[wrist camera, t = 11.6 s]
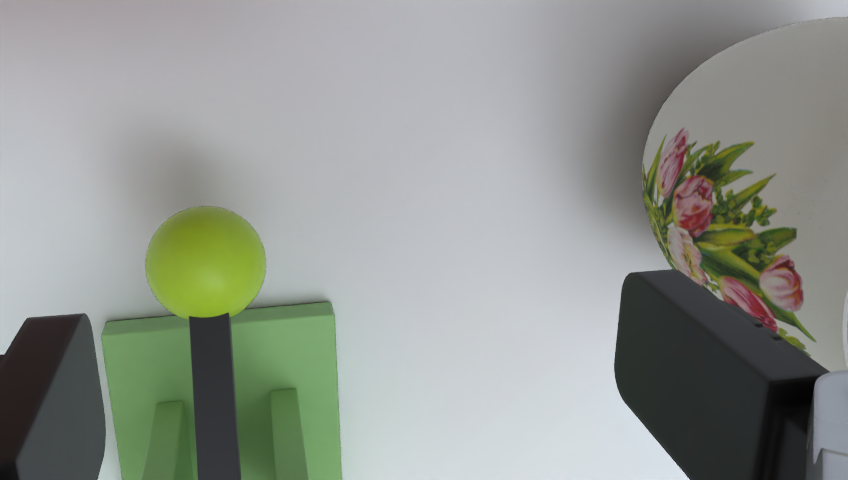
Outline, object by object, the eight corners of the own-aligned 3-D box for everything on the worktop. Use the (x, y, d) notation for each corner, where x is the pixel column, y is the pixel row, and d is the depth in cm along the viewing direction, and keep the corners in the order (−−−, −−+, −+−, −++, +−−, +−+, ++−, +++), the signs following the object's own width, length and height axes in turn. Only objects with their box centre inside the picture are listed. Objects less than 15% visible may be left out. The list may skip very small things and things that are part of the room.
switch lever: (152, 224, 25) (133, 196, 22) (262, 217, 25) (261, 188, 22) (174, 677, 22) (156, 723, 19) (295, 655, 23) (299, 696, 20)
